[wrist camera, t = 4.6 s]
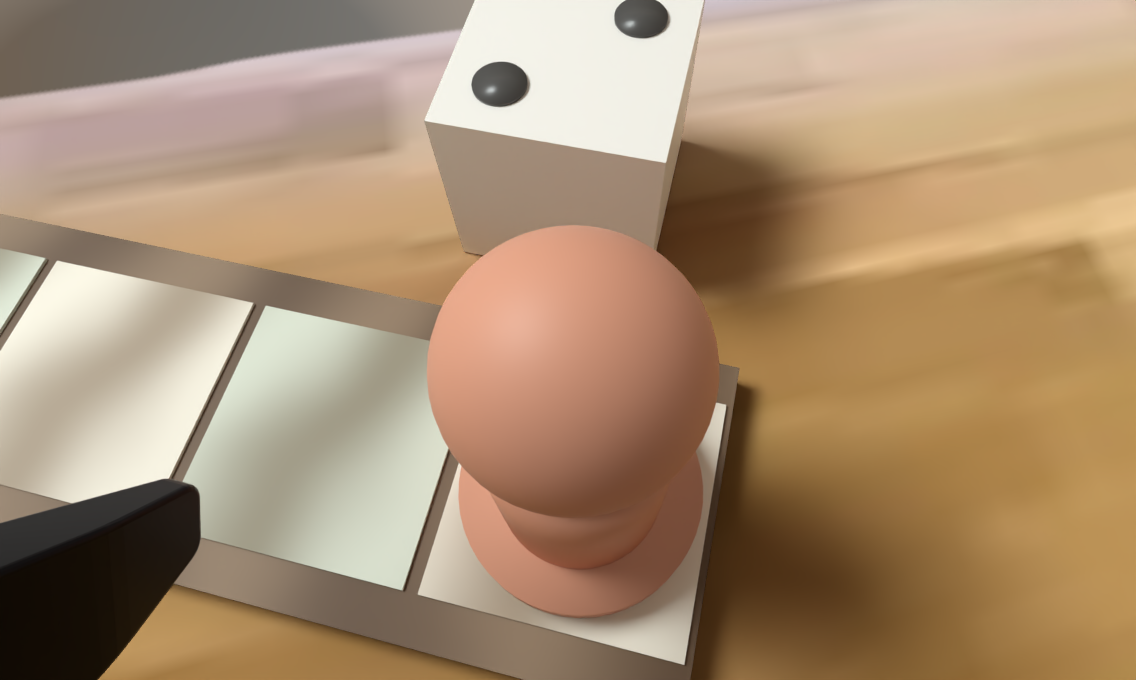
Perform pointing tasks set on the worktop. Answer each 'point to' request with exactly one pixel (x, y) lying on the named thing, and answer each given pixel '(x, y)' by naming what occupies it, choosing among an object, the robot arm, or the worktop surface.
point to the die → (564, 116)
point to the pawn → (575, 415)
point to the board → (291, 450)
